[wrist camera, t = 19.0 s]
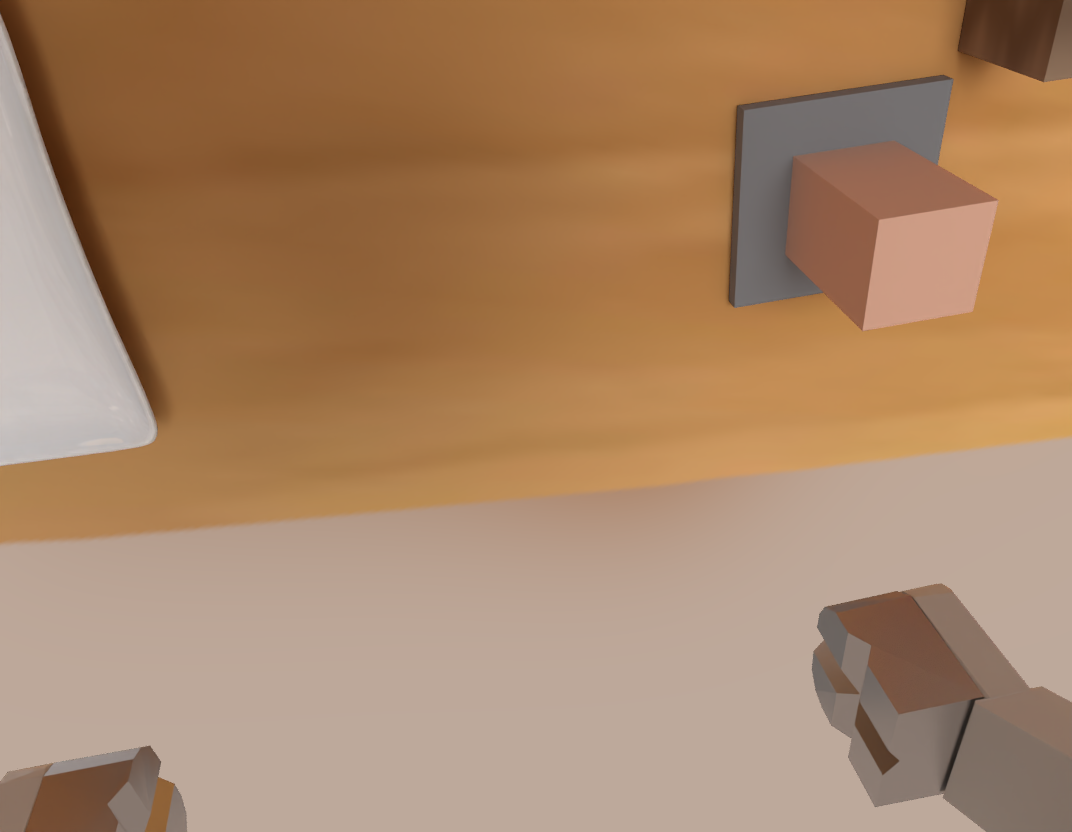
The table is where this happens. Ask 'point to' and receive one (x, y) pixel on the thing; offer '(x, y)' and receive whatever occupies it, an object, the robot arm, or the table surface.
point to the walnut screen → (1021, 36)
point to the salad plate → (53, 310)
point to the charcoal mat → (804, 129)
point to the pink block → (888, 233)
